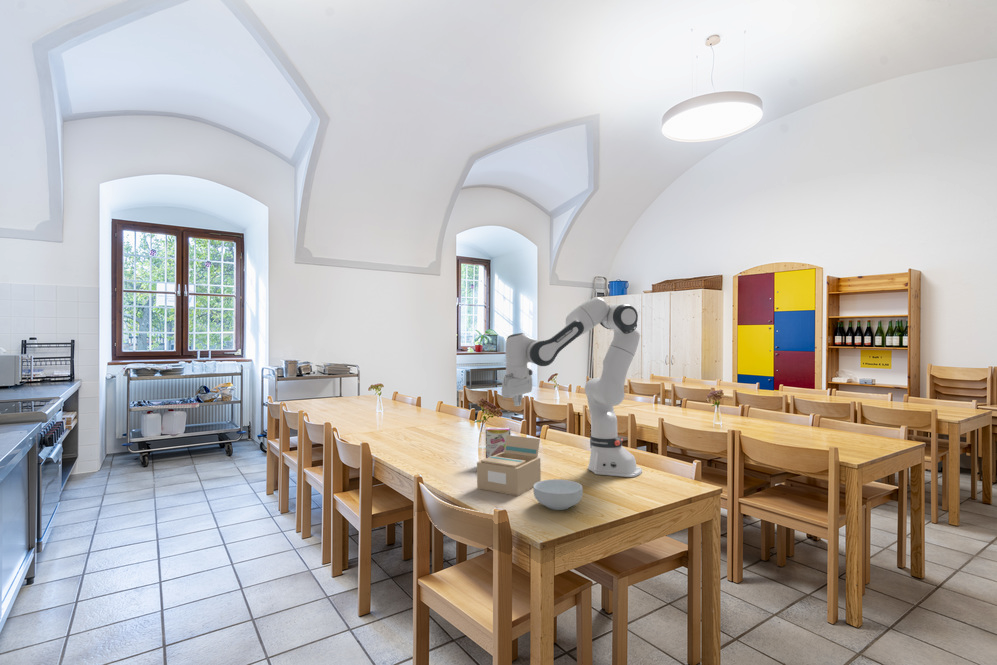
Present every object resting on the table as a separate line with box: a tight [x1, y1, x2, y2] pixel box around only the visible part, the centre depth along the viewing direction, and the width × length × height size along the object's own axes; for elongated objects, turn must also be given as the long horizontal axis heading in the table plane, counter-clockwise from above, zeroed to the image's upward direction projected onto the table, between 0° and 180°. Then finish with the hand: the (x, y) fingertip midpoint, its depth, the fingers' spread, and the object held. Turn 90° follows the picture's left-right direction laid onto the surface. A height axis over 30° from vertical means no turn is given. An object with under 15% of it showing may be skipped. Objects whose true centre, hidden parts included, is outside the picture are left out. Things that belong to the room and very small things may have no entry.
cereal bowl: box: [532, 478, 584, 511], centre depth 172 cm, size 17×17×7 cm
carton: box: [476, 452, 542, 497], centre depth 195 cm, size 18×18×10 cm
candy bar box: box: [485, 427, 512, 459], centre depth 226 cm, size 11×5×16 cm, turn 84°
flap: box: [480, 456, 526, 467], centre depth 191 cm, size 15×8×1 cm, turn 58°
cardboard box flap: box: [504, 435, 541, 457], centre depth 204 cm, size 15×7×1 cm
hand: (517, 405), depth 207 cm, fingers closed
